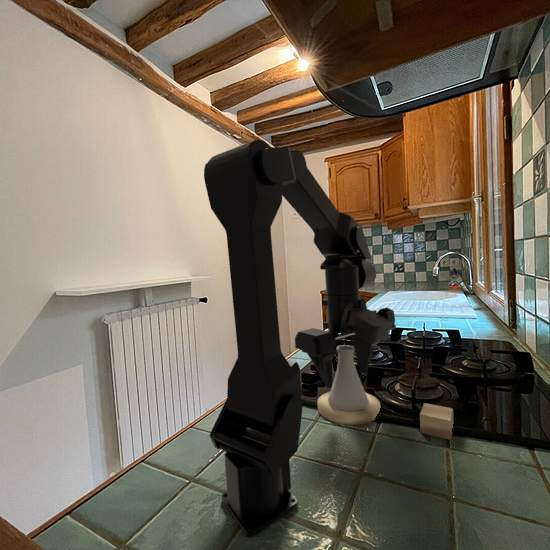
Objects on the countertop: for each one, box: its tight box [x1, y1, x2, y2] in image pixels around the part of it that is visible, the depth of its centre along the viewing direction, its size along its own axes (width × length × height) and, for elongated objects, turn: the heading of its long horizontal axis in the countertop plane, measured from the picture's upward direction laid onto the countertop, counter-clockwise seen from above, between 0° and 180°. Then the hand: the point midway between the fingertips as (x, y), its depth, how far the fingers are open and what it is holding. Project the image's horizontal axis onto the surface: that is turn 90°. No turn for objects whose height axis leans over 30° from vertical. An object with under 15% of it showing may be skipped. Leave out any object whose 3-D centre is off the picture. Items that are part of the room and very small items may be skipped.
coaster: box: [317, 391, 381, 426], centre depth 54 cm, size 11×11×1 cm
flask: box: [328, 344, 369, 411], centre depth 54 cm, size 7×7×10 cm
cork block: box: [419, 402, 454, 441], centre depth 46 cm, size 4×4×3 cm
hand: (347, 380), depth 54 cm, fingers open, 9 cm apart
